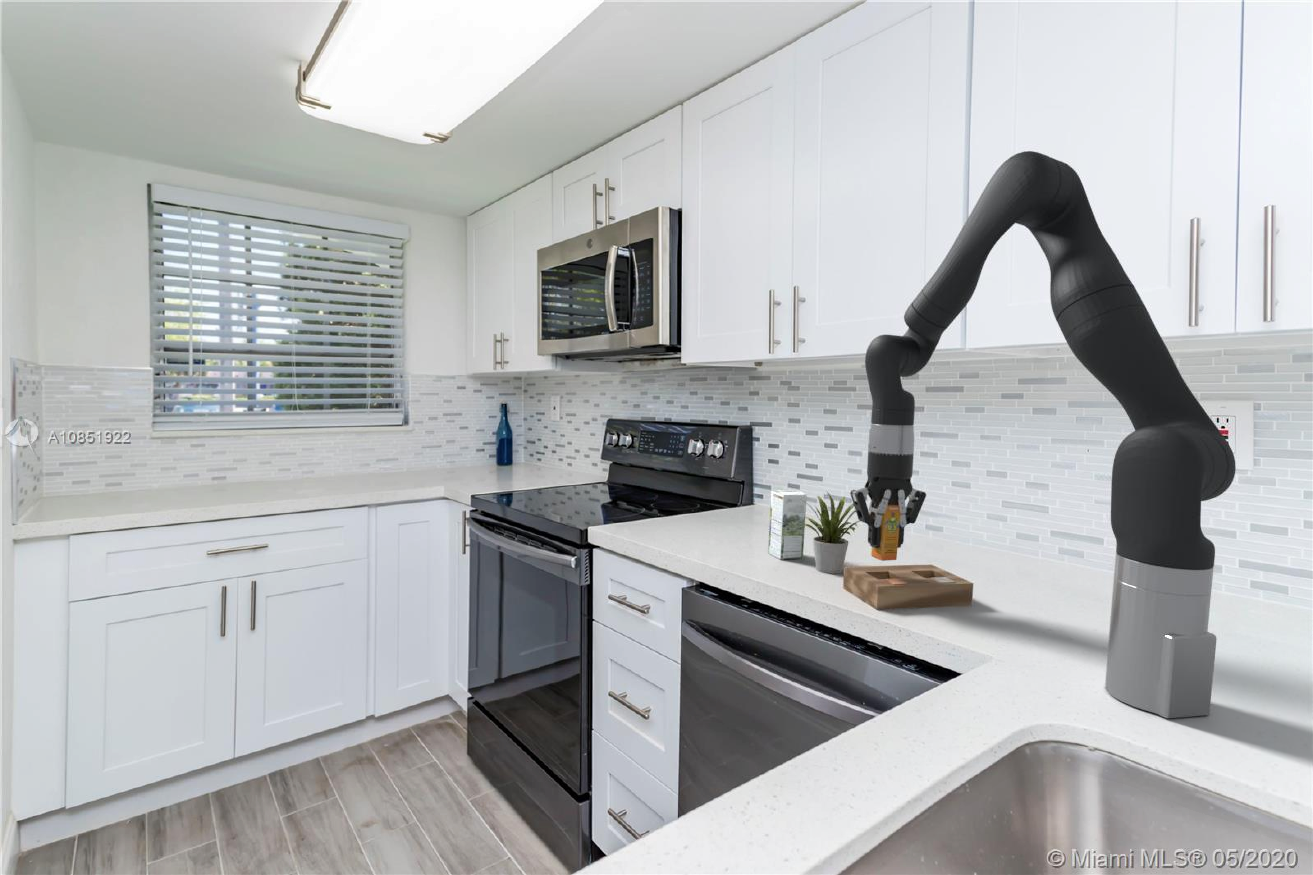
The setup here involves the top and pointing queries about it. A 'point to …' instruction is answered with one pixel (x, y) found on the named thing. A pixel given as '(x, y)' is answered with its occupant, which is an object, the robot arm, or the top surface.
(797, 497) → the syrup box
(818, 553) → the house plant
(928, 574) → the socket board
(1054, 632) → the top surface
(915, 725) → the top surface
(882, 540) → the supplement box
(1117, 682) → the robot arm
